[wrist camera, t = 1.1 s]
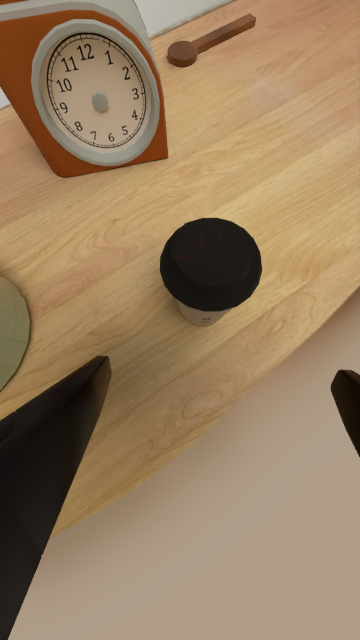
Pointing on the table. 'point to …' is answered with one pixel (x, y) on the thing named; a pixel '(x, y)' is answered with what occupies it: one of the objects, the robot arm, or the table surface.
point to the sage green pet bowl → (12, 329)
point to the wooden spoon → (206, 41)
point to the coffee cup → (210, 268)
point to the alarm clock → (83, 82)
